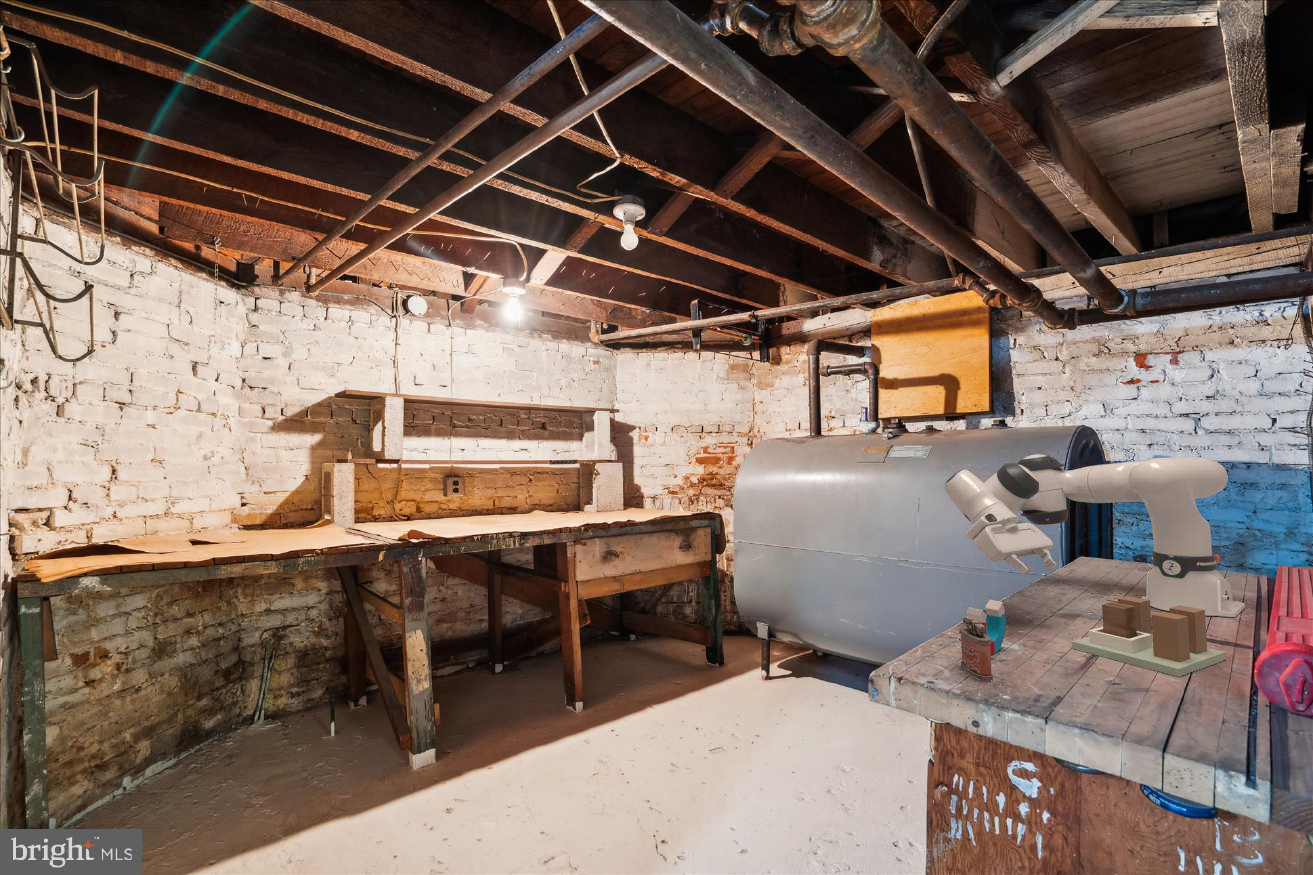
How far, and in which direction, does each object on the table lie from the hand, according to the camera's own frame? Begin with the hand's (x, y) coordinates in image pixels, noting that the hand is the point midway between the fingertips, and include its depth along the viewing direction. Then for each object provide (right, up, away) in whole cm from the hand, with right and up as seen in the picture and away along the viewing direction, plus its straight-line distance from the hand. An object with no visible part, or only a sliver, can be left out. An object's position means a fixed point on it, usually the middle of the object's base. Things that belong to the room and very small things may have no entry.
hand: (1040, 569), depth 131 cm
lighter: (-27, -15, -22) cm, 38 cm away
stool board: (+11, -14, -15) cm, 23 cm away
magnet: (-19, -15, -12) cm, 27 cm away
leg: (+7, -12, -13) cm, 20 cm away
